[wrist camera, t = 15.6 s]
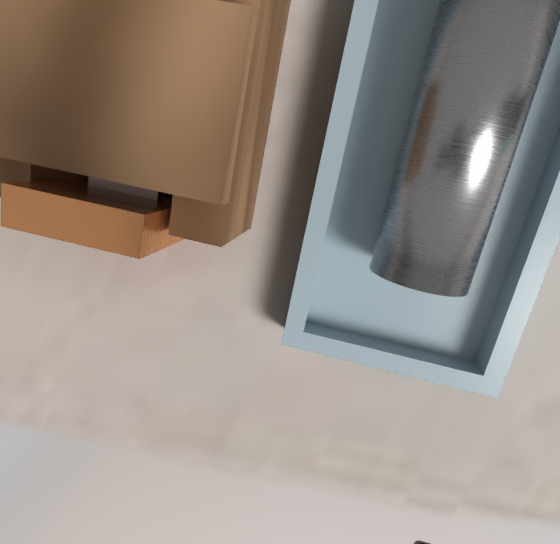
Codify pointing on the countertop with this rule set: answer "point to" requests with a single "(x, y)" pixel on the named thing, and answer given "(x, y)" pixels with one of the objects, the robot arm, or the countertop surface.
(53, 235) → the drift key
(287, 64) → the countertop surface
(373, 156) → the tray
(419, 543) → the robot arm
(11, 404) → the countertop surface
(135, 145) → the socket block
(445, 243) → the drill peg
